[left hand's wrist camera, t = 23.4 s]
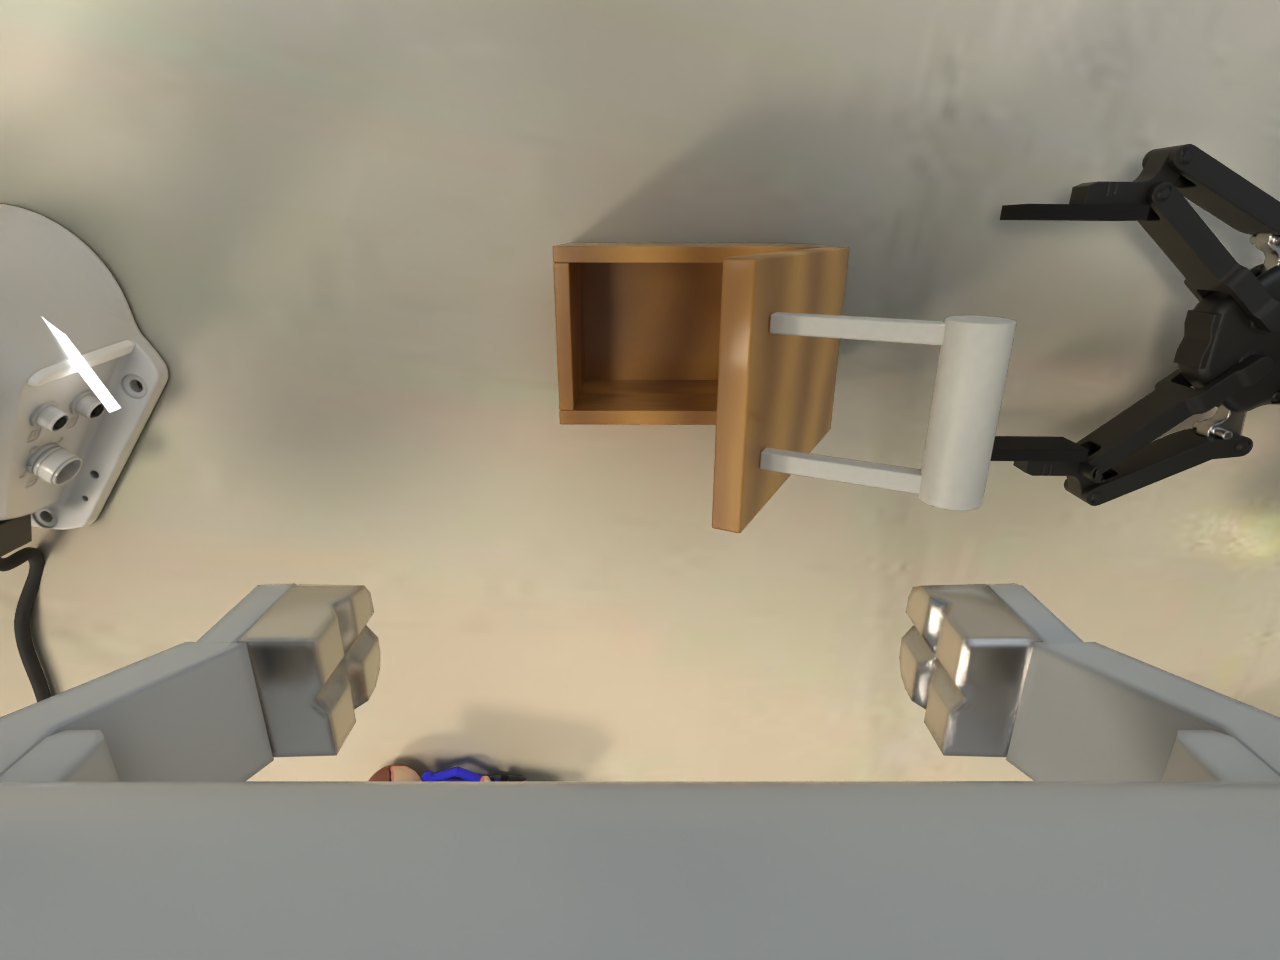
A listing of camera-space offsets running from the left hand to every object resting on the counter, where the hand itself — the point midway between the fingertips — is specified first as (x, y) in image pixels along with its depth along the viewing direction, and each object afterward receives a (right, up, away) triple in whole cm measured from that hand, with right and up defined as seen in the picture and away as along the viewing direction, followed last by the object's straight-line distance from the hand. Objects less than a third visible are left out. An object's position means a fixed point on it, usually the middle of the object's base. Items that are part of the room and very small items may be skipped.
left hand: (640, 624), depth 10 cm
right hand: (+20, +11, +29) cm, 37 cm away
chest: (+3, +13, +35) cm, 38 cm away
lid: (+6, +7, +20) cm, 22 cm away
